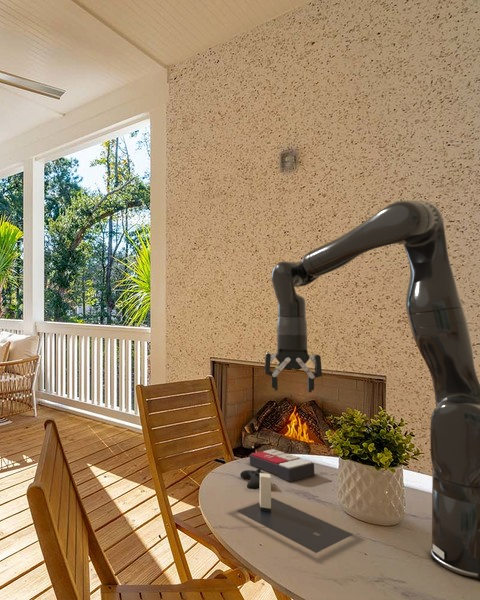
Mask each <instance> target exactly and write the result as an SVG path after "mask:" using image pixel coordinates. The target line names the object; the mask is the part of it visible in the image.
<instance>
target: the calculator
mask: <svg viewBox="0 0 480 600" xmlns="http://www.w3.org/2000/svg"><path fill="white" fill-rule="evenodd" d="M249 465H250V466H252V467H256V468H257V469H260V470H263V471H266V472H269V473H270V474H271V473H272V474H274V475H276V476H278V478H280V479H283V480H285V481H287V482H294V481H299V480H302V479H305V478H310V477H313V476H314V477H315V463H314V462H312V461H310V460H307V459H303V458H300V457H299V456H296V455H293V454H290V453H286V452H284V451H280V450H277V449H275V448H272V449H267V450H263V451H258V452H254V453H253V452H252V453H251V454H249Z"/></svg>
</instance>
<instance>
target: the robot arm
mask: <svg viewBox="0 0 480 600" xmlns="http://www.w3.org/2000/svg"><path fill="white" fill-rule="evenodd" d="M395 244H397V245H403V247H404V250H405V253H406V256H407V260H408V265H409V280H408V285H407V289H406V296H405V311H406V316H407V320H408V324H409V327H410V332H411V334H412V337H413V340H414V342H415V344H416V346H417V349H418V352H419V353H420V356H421V357H422V359H423V361H424V362H425V364H426V366H427V368H428V371H429V374H430V378H431V380H432V381H431V382H432V385H433V392H434V400H435V408H434V409H433V411H432V412H431V416H430V424H429V425H430V427H429V429H430V430H429V432H430V433H429V436H430V439H429V440H430V461H431V465H432V471H431V472H432V476H431V477H432V481H431V484H432V485H431V487H432V488H431V550H430V556H431V558H432V560H434V562H436V563H437V564H438V565H440V566H441V567H443V568H445V569H446V570H448V571H451V572H452V573H453V572H454V573H456V574H458V575H461V576H465V577H468V578H472V579H478V580H480V379H479V377H478V374H477V371H476V367H475V366H476V365H475V360H474V352H473V345H472V339H471V333H470V329H469V324H468V321H467V316H466V314H465V310H464V307H463V303H462V300H461V297H460V294H459V293H460V292H459V290H458V287H457V282H456V279H455V275H454V272H453V269H452V265H451V262H450V256H449V252H448V244H447V238H446V229H445V222H444V218H443V215H442V213H441V211H440V209H439V208H438V206H436V205H435V204H433V203H431V202H429V201H424V200H399V201H395V202H392V203H390V204H388V205H387V206H385V207H383V208H382V209H380V210H379V211H377V212H376V213H375V214H373V215H372V216H370V217H369V218H368V219H367V220H365V221H364V222H362V223H360V224H359V225H357V226H356V227H354V228H352V229H350V230H349V231H347V232H346V233H344V234H342V235H340V236H339V237H337V238H335V239H333V240H331V241H329V242H326V243H324V244H322V245H320V246H318V247H316V248H313V249H312V250H310V251H308V252H306V253H305V254H304V255H303V256H302V258H301V260H300V261H279V262H277V263H276V264H275V265H274V266H273V269H272V270H271V276H270V277H271V283H272V288H273V291H274V295H275V298H276V301H277V323H276V339H277V340H276V341H277V343H276V348H277V349H276V353H270V352H265V354H264V369H263V371H264V373H265V375H267V376H270V377H271V378H270V379H271V380H270V381H271V388H272V389H273V390H274V391H278V390H279V389H278V387H279V385H278V383H279V382H278V381H279V380H278V376H279V374H280V373H281V372H282V371H283V370H284V369H285V370H296V371H299V370H302V371H303V372H304V373H305V374H306V376H307V377H306V381H307V382H306V387H307V390H306V391H307V392H308V393H312V392H313V391H315V379H316V378H321V377H322V376H323V371H322V370H323V369H322V358H321V355H319V354H318V353H315V354H309V353H308V324H307V323H308V322H307V307H306V306H307V303H306V299H305V297H303V296H302V295H299V294H298V293H297V292H296V289H295V288H301V287H305V286H307V285H309V284H312V283H313V282H315V281H316V280H317V279H319V278H320V277H321V276H323V275H326V274H329V273H332V272H334V271H336V270H339V269H340V268H341V269H342V268H343V267H344V266H346V265H348V264H350V263H351V262H352V261H353V260H355V259H356V258H358V257H359V256H361V255H363V254H365V253H366V252H369V251H372V250H376V249H378V248H381V247H386V246H390V245H395ZM274 359H276V360H277V361H278V364H277V365H276V366H275V368H274V369H273V370H271V362H273V361H274ZM309 360H311V362H312V363H314V364H313V365H314V372H312V371H311V369H310V368H309V367H308V366H307V365H306V364H307V363H308V361H309Z"/></svg>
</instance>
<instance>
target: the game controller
mask: <svg viewBox="0 0 480 600" xmlns="http://www.w3.org/2000/svg"><path fill="white" fill-rule="evenodd" d="M261 470H262V469H260V468H257V469H256V470H252V469H245V470H243V471H241V472H240V475H239V476H240V478H241V479H244V480H249V481H248V482H247V484H246V489H249V490H260V473H265V472H264V471H261Z"/></svg>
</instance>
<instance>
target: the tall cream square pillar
mask: <svg viewBox="0 0 480 600" xmlns="http://www.w3.org/2000/svg"><path fill="white" fill-rule="evenodd" d="M271 498H272V476H271V473H265V472H264V473H260V488H259V503H260V510H261V511H268V512H271Z"/></svg>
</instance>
